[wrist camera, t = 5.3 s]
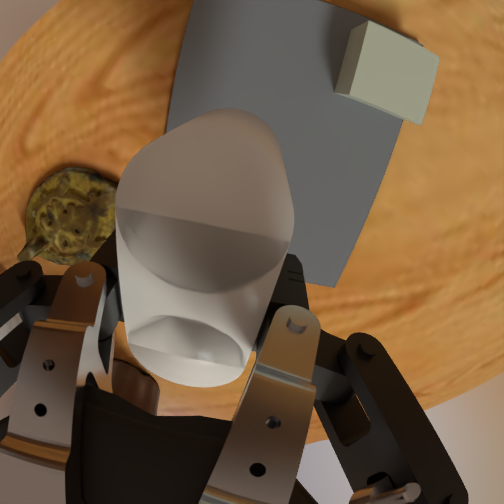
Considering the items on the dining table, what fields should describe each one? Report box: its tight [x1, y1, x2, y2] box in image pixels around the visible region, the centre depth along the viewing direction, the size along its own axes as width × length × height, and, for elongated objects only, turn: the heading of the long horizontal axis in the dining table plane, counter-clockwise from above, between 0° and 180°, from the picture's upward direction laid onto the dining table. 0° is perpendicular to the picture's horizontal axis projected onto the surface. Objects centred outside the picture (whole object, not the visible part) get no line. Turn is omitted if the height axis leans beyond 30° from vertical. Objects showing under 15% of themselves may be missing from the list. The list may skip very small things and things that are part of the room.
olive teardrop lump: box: [17, 167, 118, 266], centre depth 21 cm, size 9×5×15 cm
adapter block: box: [334, 21, 440, 126], centre depth 14 cm, size 5×5×4 cm
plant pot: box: [111, 359, 160, 416], centre depth 31 cm, size 16×16×16 cm
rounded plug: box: [115, 108, 294, 387], centre depth 10 cm, size 12×4×5 cm, turn 168°
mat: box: [166, 0, 423, 288], centre depth 19 cm, size 22×16×1 cm
